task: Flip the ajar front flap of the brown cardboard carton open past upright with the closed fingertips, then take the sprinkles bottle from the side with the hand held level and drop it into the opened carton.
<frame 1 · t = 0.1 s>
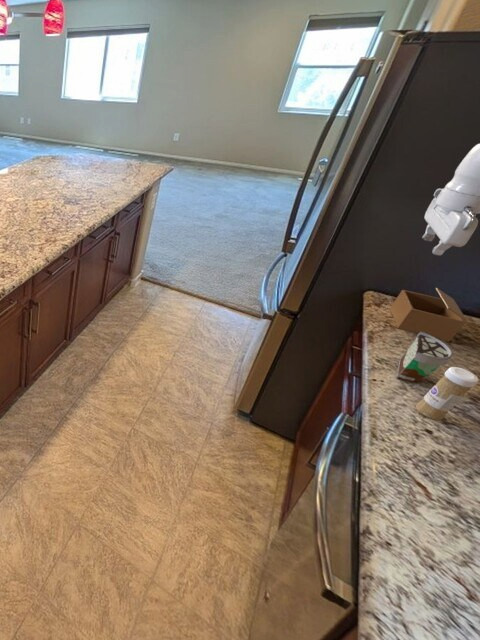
hand: (431, 246, 108), 27 cm above the countertop, tool pointing down, fingers open, 8 cm apart
sprinkles bottle: (427, 413, 93), on the countertop
carton: (417, 323, 120), on the countertop
flap: (450, 303, 113), point 9 cm above the countertop, hinge at 28.0°
food container: (413, 375, 102), on the countertop
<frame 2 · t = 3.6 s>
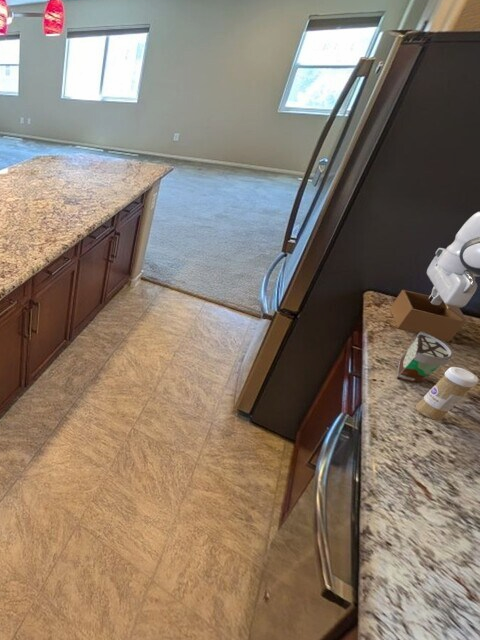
hand: (433, 302, 115), 8 cm above the countertop, tool pointing down, fingers closed, pressing on flap
flap: (450, 303, 113), point 9 cm above the countertop, hinge at 28.1°, touching gripper
everything else where it was.
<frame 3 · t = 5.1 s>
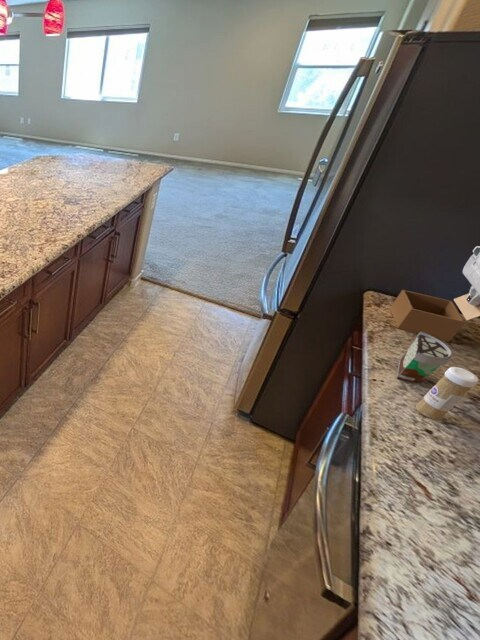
hand: (471, 302, 111), 11 cm above the countertop, tool pointing down, fingers closed
flap: (472, 305, 111), point 10 cm above the countertop, hinge at 122.6°, touching gripper
everything else where it was.
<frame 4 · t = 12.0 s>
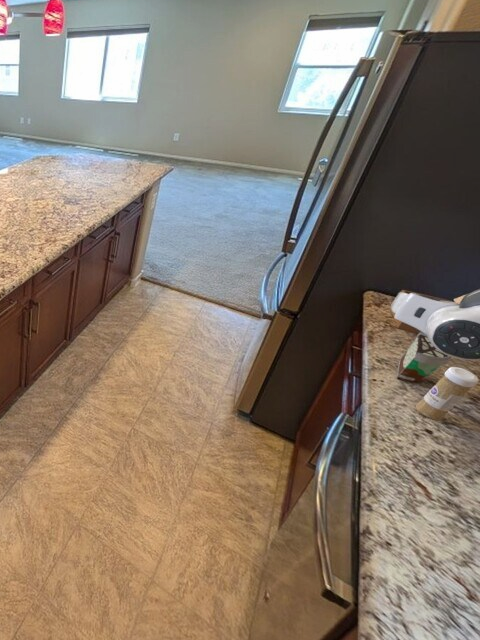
hand: (459, 316, 85), 25 cm above the countertop, tool tilted 70°, fingers closed
flap: (472, 305, 111), point 10 cm above the countertop, hinge at 123.9°
everything else where it was.
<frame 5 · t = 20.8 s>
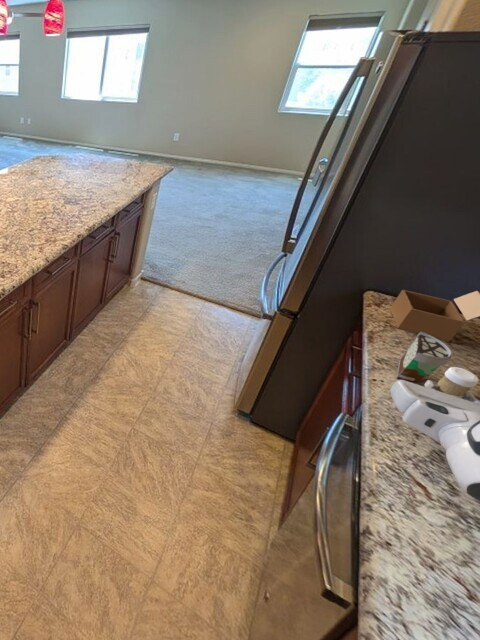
hand: (447, 388, 89), 8 cm above the countertop, tool horizontal, fingers closed on sprinkles bottle, 4 cm apart
sprinkles bottle: (427, 413, 93), on the countertop, touching gripper
everything else where it was.
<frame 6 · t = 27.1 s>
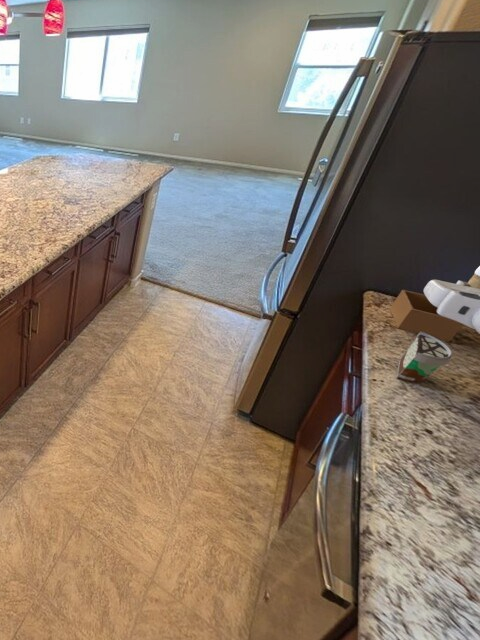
hand: (476, 286, 96), 24 cm above the countertop, tool horizontal, fingers closed on sprinkles bottle, 4 cm apart
sprinkles bottle: (458, 313, 99), point 16 cm above the countertop, touching gripper
everything else where it was.
when the fingers open (12 cm above the countertop, at t = 33.3 s): sprinkles bottle drops 4 cm, resting on carton.
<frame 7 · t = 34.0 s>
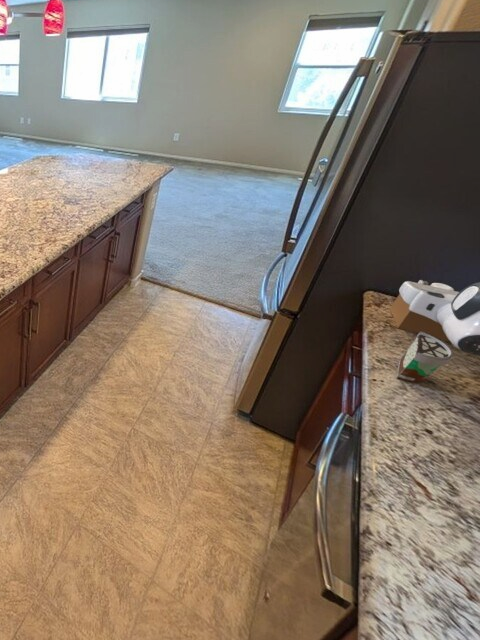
hand: (444, 287, 113), 14 cm above the countertop, tool horizontal, fingers open, 8 cm apart
sprinkles bottle: (418, 323, 119), resting on carton
everything else where it was.
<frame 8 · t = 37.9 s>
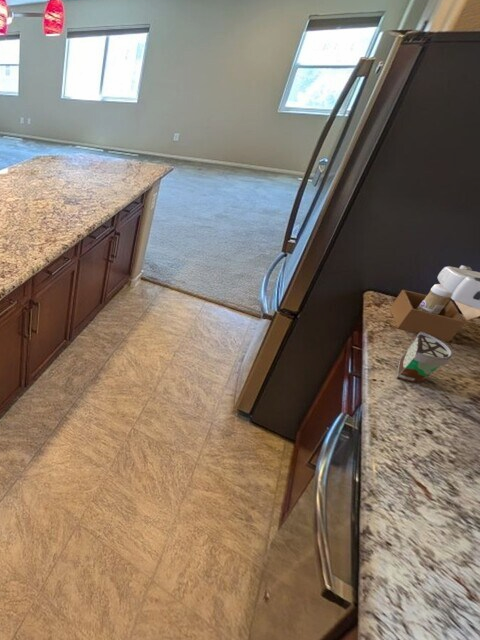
nothing on the countertop moved.
at the end: flap at +124° (first picture: +28°); sprinkles bottle inside the target area in the carton (0.1 cm from its centre), point 0.3 cm above the carton's base; the gripper is holding nothing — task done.
